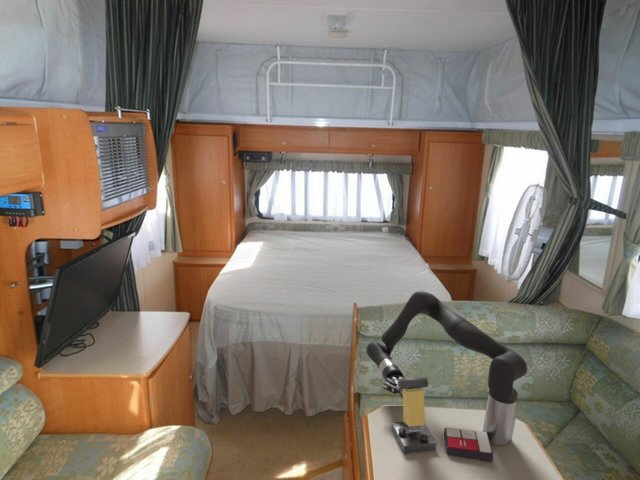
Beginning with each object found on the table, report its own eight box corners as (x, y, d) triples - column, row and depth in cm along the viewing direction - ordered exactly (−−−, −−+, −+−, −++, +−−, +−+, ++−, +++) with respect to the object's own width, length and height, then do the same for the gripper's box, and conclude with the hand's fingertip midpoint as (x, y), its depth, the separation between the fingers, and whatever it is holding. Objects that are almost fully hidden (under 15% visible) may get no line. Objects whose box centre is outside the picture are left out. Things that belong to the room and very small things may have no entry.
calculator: (444, 425, 156) (487, 430, 153) (443, 435, 157) (486, 440, 154) (447, 446, 146) (493, 452, 143) (446, 457, 147) (492, 463, 144)
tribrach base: (421, 426, 160) (422, 416, 159) (435, 449, 149) (437, 439, 148) (391, 429, 158) (392, 419, 157) (403, 453, 146) (404, 443, 145)
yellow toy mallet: (424, 424, 155) (422, 375, 156) (430, 430, 150) (428, 378, 151) (398, 427, 153) (397, 377, 154) (403, 432, 149) (402, 380, 149)
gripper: (376, 364, 173) (390, 390, 157) (406, 362, 175) (424, 387, 159) (374, 381, 175) (388, 407, 158) (405, 378, 177) (422, 404, 161)
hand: (406, 397), depth 159 cm, fingers closed
